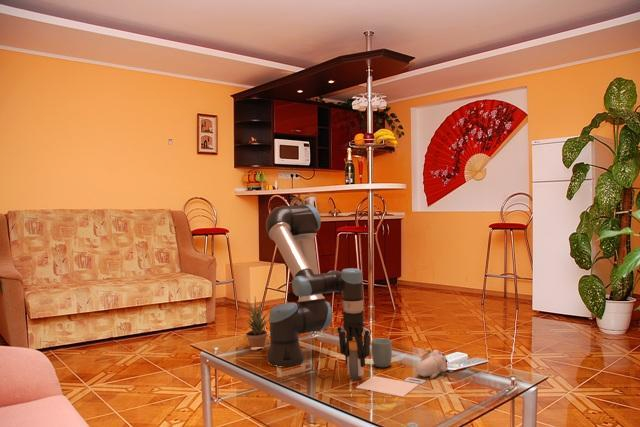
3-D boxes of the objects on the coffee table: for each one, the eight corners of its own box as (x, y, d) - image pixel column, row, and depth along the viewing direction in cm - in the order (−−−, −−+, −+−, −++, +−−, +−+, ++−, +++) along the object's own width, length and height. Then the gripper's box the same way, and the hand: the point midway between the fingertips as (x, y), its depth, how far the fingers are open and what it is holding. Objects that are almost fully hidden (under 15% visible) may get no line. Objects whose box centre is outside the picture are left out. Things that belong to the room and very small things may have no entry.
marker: (348, 379, 195) (346, 341, 195) (353, 375, 199) (352, 338, 198) (357, 381, 193) (356, 342, 192) (363, 377, 196) (362, 340, 196)
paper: (355, 388, 186) (355, 387, 186) (373, 376, 197) (373, 376, 197) (402, 397, 176) (402, 396, 176) (419, 384, 186) (419, 384, 186)
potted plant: (242, 350, 239) (239, 295, 238) (256, 344, 247) (253, 291, 246) (259, 353, 233) (256, 297, 232) (273, 347, 241) (270, 293, 240)
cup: (391, 369, 204) (390, 343, 204) (371, 369, 206) (370, 343, 205) (393, 363, 212) (392, 338, 211) (373, 362, 213) (372, 337, 213)
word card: (403, 381, 191) (403, 380, 191) (408, 377, 194) (408, 376, 194) (421, 384, 187) (421, 383, 187) (426, 380, 190) (426, 379, 190)
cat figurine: (418, 354, 191) (444, 341, 200) (405, 361, 197) (431, 348, 206) (431, 379, 188) (457, 365, 197) (418, 385, 194) (444, 371, 203)
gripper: (328, 311, 197) (331, 373, 197) (368, 315, 187) (370, 381, 188) (339, 307, 203) (341, 367, 204) (378, 311, 193) (380, 374, 194)
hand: (355, 374), depth 196 cm, fingers closed on marker, 4 cm apart
